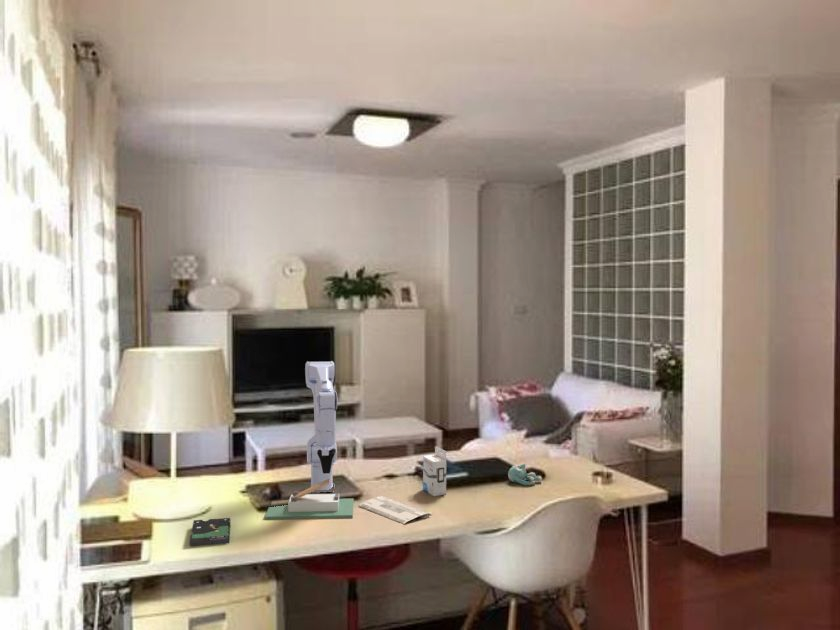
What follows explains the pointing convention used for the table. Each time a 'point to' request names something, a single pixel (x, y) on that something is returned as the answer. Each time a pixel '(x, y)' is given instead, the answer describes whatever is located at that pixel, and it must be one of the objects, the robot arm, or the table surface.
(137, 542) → the table surface
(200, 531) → the disk drive
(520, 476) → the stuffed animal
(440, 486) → the ink box
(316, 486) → the strip
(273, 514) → the board
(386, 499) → the newspaper
